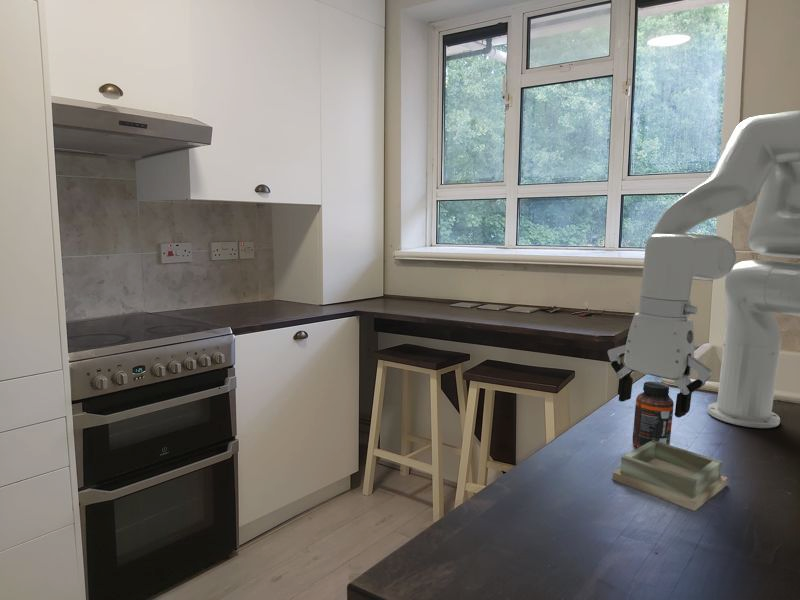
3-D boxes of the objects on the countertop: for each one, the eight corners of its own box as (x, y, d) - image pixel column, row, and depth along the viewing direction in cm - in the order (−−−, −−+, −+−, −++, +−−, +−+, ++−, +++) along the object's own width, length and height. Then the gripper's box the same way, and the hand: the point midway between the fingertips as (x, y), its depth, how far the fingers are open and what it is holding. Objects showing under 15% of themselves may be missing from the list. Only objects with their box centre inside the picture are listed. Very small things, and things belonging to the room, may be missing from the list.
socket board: (648, 458, 96) (650, 437, 96) (726, 485, 88) (729, 461, 87) (612, 479, 88) (614, 456, 88) (694, 511, 80) (697, 485, 79)
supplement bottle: (672, 456, 98) (679, 391, 96) (635, 452, 99) (641, 387, 97) (664, 442, 104) (670, 380, 102) (629, 439, 105) (634, 378, 103)
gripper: (727, 315, 94) (713, 418, 96) (624, 300, 106) (614, 391, 109) (709, 318, 89) (695, 427, 91) (603, 302, 101) (593, 398, 103)
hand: (651, 407), depth 100 cm, fingers open, 9 cm apart
